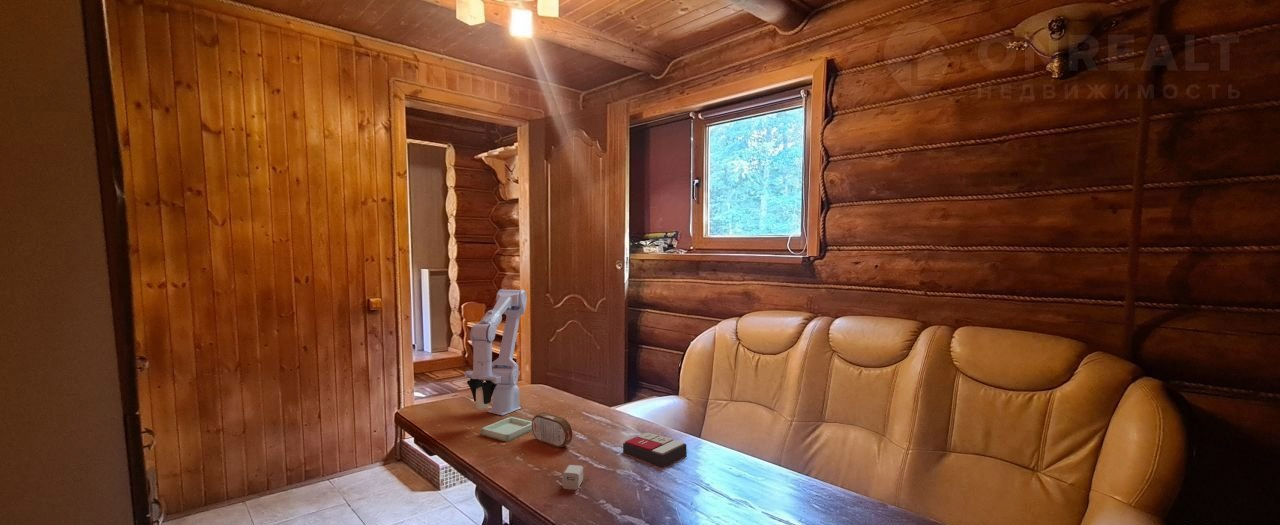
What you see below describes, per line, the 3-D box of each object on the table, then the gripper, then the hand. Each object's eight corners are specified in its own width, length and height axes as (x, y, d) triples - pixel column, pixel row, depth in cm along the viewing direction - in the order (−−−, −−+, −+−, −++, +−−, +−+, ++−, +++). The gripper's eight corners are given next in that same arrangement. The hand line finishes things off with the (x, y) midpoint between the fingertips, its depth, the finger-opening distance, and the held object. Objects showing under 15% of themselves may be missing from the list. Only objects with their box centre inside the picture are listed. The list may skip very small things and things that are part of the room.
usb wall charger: (562, 488, 117) (562, 472, 117) (570, 475, 124) (570, 460, 124) (578, 490, 117) (578, 473, 116) (585, 477, 123) (585, 461, 123)
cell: (482, 404, 160) (482, 385, 160) (491, 406, 158) (491, 386, 158) (473, 407, 157) (473, 387, 157) (481, 410, 155) (481, 389, 155)
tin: (573, 448, 142) (573, 419, 142) (565, 451, 139) (565, 422, 139) (537, 436, 150) (537, 409, 150) (529, 439, 148) (530, 412, 148)
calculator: (647, 430, 147) (687, 441, 137) (647, 444, 147) (687, 456, 137) (622, 440, 139) (662, 452, 129) (622, 455, 139) (663, 468, 129)
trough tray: (511, 422, 162) (511, 416, 162) (536, 428, 157) (536, 422, 157) (480, 434, 151) (480, 428, 151) (506, 441, 145) (506, 435, 145)
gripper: (457, 360, 157) (456, 401, 158) (489, 365, 150) (488, 409, 150) (474, 356, 163) (474, 396, 164) (505, 361, 156) (505, 403, 157)
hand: (482, 402), depth 157 cm, fingers closed on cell, 4 cm apart
